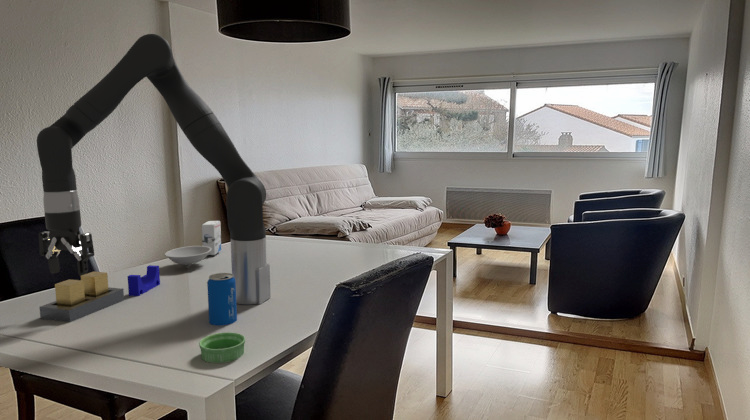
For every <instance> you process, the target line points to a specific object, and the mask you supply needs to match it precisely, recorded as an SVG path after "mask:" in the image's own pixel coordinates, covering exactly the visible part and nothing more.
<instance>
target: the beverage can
mask: <svg viewBox="0 0 750 420" xmlns="http://www.w3.org/2000/svg"><path fill="white" fill-rule="evenodd" d="M206 284H207V285H206V286H207V303H208V320H209V321H208V323H209V324H210V325H212V326H218V327H219V326H227V325H231V324H234V323H236V322H237V321H238V312H237V311H238V310H237V309H238V307H237V303H236V281H235V278H234V277H233V274H232V273H230V272H218V273H214V274H213V273H212V274H211V275H209V276H208V280H207V282H206Z"/></svg>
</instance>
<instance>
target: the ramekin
mask: <svg viewBox="0 0 750 420" xmlns="http://www.w3.org/2000/svg"><path fill="white" fill-rule="evenodd" d="M245 343H246V336H245V335H243V334H241V333H238V332H231V331H227V332H225V331H224V332H218V333H213V334H209V335H207V336H205V337H203V338H201V340H199V343H198V344H199V345H198V346H199V349H200V353H201V354H200V355H201V359H202V360H203V361H205V362H207V363H212V364H213V363H214V364H215V363H216V364H218V363H219V364H221V363H229V362H232V361H234V360H237V359H239V358H241V357H242V356H244V355H245V354H244V353H245Z"/></svg>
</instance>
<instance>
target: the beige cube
mask: <svg viewBox="0 0 750 420" xmlns="http://www.w3.org/2000/svg"><path fill="white" fill-rule="evenodd" d="M80 280H81V281H84V293H85V296H88V297H98V296H101V295H103V294H106V293H109V289H108V287H109V279H108V272H103V271H91V272H87V274H84V275H80Z"/></svg>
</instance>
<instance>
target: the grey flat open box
mask: <svg viewBox="0 0 750 420" xmlns="http://www.w3.org/2000/svg"><path fill="white" fill-rule="evenodd" d="M108 289H109V293H106V294H103V295H101V296H98V297H88V296H85V302H83V303H80V304H78V305H75V306H73V307H65V306H57V303H56V300H54V301H51V302H49V303H46V304H43V305H41V306H40V305H39V315H40V316H39V317H40V318H39V319H40V320H44V319H46V320H47V321H53V320H54V322H65V323H71V322H74V321H77V320H79V319H82V318H84V317H87V316H90V315H92V314H94V313H98V312H99V311H101V310H105V309H106V308H109V307H112V306H114V305H117V304H119V303H122V302H123V301H125V295H124V294H125V293H124V292H125V291H124V288H118V287H109V286H108ZM46 320H45V321H46Z"/></svg>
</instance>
